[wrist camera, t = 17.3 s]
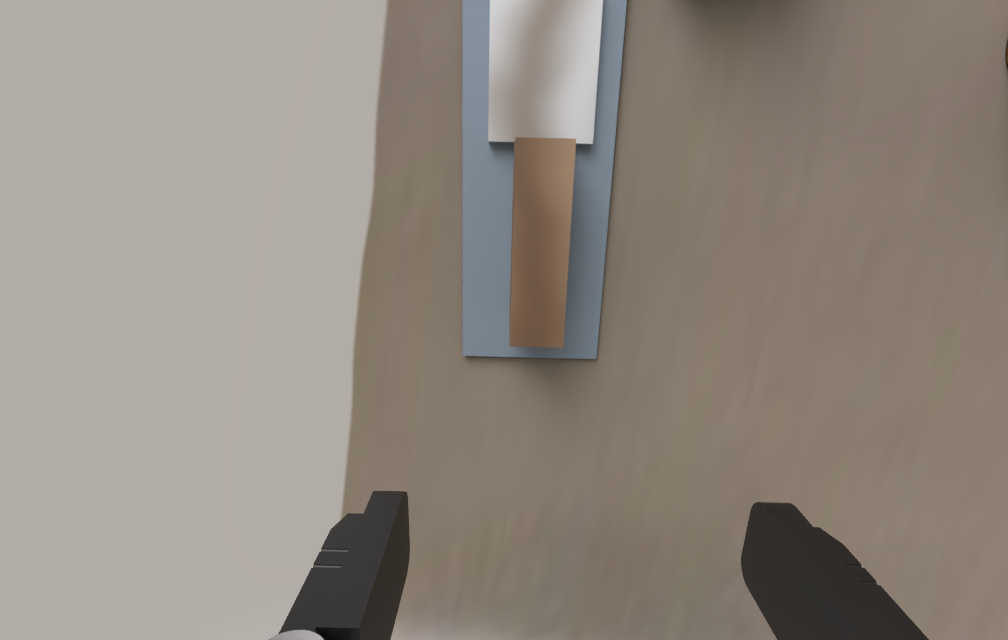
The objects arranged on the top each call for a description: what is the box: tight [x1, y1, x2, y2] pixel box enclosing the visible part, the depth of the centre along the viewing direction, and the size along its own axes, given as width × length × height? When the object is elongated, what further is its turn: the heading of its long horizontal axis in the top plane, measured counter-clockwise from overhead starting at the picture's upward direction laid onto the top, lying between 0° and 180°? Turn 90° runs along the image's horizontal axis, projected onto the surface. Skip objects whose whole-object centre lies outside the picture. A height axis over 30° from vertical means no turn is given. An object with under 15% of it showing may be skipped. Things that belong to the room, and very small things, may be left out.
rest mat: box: [463, 0, 627, 359], centre depth 30 cm, size 9×22×1 cm, turn 179°
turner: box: [488, 0, 603, 348], centre depth 27 cm, size 6×19×5 cm, turn 179°
